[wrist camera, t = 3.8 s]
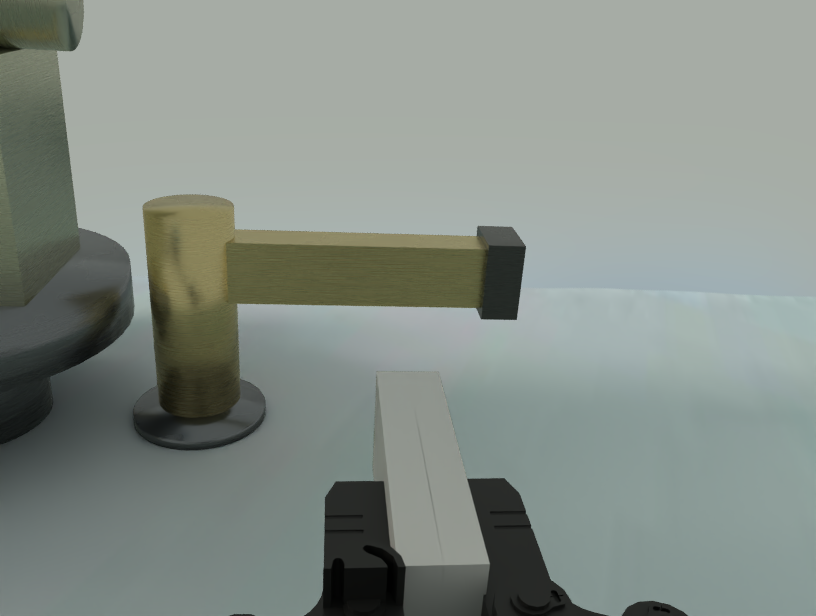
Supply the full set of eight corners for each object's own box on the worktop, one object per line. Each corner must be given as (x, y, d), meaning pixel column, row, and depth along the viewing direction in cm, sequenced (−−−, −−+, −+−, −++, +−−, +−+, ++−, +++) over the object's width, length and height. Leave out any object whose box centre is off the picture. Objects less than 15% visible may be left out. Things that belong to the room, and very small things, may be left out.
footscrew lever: (150, 417, 29) (132, 217, 26) (167, 377, 32) (153, 193, 29) (506, 418, 30) (531, 228, 27) (491, 379, 33) (511, 205, 30)
